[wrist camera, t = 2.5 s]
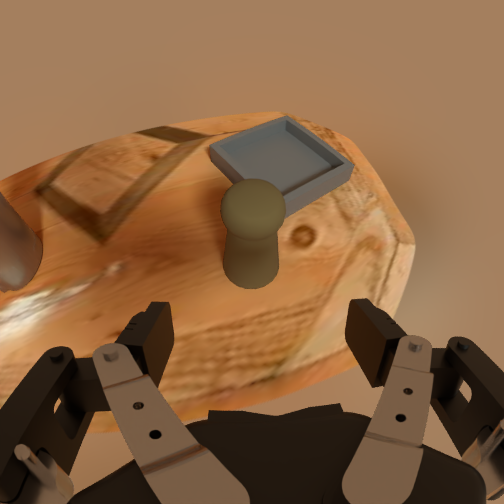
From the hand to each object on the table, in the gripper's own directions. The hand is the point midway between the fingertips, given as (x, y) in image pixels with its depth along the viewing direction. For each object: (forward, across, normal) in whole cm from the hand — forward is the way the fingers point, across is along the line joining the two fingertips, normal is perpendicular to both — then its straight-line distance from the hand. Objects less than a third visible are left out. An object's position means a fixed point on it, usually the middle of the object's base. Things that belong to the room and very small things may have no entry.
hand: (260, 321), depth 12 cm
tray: (+28, -4, -7) cm, 30 cm away
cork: (+18, 0, +3) cm, 18 cm away
